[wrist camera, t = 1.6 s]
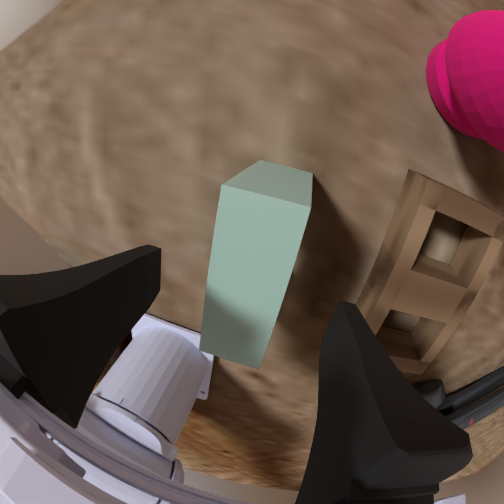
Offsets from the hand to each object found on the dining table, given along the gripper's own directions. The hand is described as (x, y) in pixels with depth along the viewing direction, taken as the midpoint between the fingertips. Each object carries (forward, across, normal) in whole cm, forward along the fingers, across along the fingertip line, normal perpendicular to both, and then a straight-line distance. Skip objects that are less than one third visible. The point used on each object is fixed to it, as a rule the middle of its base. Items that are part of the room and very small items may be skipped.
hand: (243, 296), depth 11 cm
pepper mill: (+7, -10, -12) cm, 17 cm away
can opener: (+8, -22, +10) cm, 26 cm away
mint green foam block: (+7, 0, 0) cm, 7 cm away
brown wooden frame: (+7, -10, 0) cm, 12 cm away
